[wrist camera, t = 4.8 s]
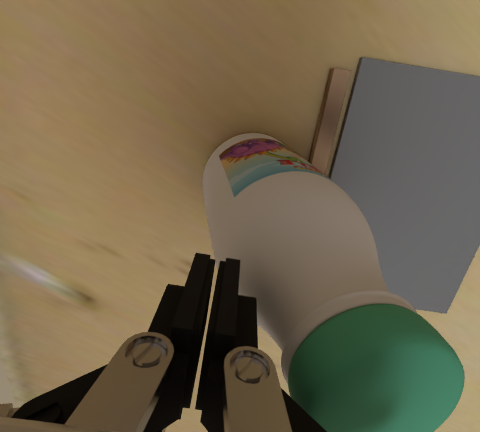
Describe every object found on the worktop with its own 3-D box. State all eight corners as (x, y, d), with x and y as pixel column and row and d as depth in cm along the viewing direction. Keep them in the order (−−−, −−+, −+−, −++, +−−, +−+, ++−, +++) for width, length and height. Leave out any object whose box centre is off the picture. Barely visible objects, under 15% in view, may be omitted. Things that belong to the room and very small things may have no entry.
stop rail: (330, 68, 24) (334, 67, 23) (346, 71, 24) (351, 70, 23) (282, 276, 31) (283, 284, 30) (294, 278, 31) (296, 285, 30)
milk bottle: (267, 235, 29) (406, 512, 11) (185, 202, 26) (189, 485, 8) (312, 157, 27) (586, 341, 8) (228, 113, 24) (361, 238, 6)
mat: (360, 57, 24) (362, 57, 23) (547, 88, 24) (555, 88, 23) (299, 288, 31) (300, 292, 31) (442, 309, 31) (446, 313, 31)
